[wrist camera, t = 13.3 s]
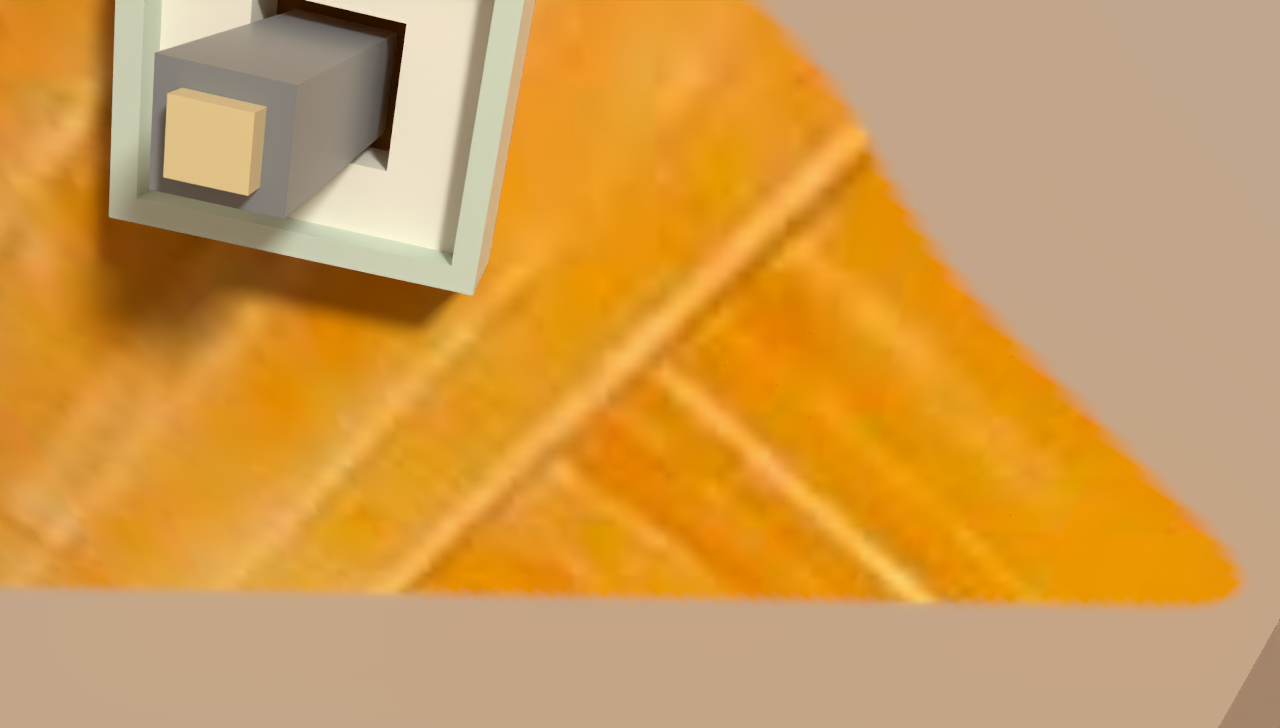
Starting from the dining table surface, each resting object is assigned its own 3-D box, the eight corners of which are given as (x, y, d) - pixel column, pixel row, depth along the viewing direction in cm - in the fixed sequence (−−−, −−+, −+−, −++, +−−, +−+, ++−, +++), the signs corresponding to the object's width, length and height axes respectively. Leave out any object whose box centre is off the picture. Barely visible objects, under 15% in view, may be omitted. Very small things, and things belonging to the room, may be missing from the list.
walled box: (158, 188, 45) (108, 217, 41) (175, -148, 40) (120, -153, 36) (488, 259, 46) (472, 295, 42) (545, -58, 41) (533, -53, 37)
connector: (287, 109, 44) (133, 198, 31) (296, 9, 42) (139, 57, 29) (385, 131, 44) (273, 228, 31) (398, 32, 42) (286, 91, 29)
